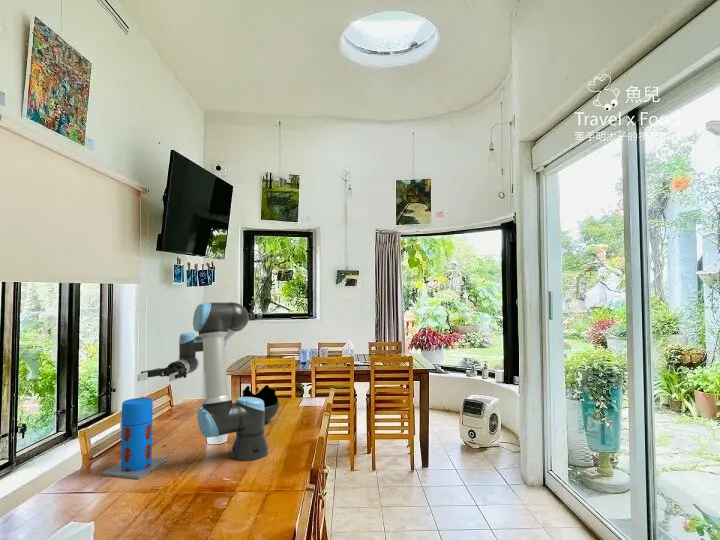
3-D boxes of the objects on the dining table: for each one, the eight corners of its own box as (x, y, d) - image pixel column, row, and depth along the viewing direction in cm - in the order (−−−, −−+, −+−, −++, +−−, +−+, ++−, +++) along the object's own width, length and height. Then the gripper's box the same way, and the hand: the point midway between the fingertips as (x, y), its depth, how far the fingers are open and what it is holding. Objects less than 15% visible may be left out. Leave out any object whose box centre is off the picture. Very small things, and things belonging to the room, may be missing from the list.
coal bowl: (287, 420, 231) (287, 384, 231) (259, 431, 214) (259, 392, 215) (260, 414, 241) (260, 380, 242) (231, 424, 224) (232, 387, 225)
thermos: (138, 472, 163) (139, 405, 164) (113, 470, 165) (115, 403, 166) (157, 461, 173) (158, 398, 175) (134, 459, 176) (135, 396, 177)
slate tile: (167, 462, 175) (167, 460, 175) (138, 479, 159) (138, 476, 159) (133, 459, 179) (133, 456, 179) (102, 475, 163) (102, 472, 163)
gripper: (204, 377, 202) (183, 387, 181) (151, 377, 203) (125, 387, 182) (204, 360, 202) (183, 369, 181) (152, 360, 203) (125, 369, 182)
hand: (154, 378), depth 181 cm, fingers open, 13 cm apart
